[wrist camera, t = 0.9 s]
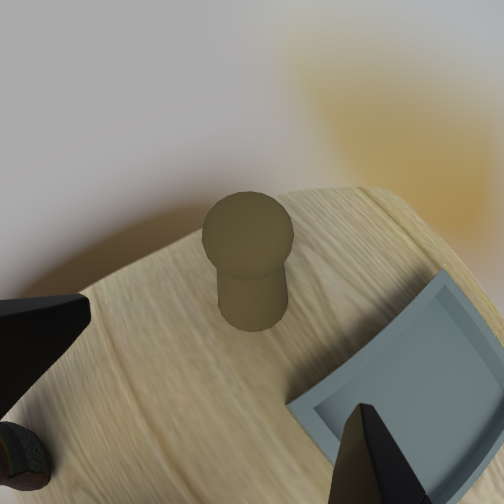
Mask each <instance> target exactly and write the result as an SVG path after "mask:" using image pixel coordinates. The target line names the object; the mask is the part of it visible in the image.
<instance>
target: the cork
mask: <svg viewBox="0 0 504 504" xmlns="http://www.w3.org/2000/svg"><path fill="white" fill-rule="evenodd" d="M293 238H294V232H293V227H292V222H291V218H290V216H289V215H288V213H287V211H286V210H285V208H284V207H283V206H282V205H281V204H280V203H278V202H277V201H276V200H275V199H273V198H272V197H270V196H267V195H265V194H263V193H257V192H238V193H235V194H232V195H229V196H227V197H225V198H224V199H222V200H220V201H218V202H217V203H216V204H215V206H214V207H213V208H212V209H211V210H210V212H209V213H208V214H207V217H206V219H205V221H204V224H203V230H202V243H203V246H204V249H205V251H206V254H207V257H208V259H209V260H210V261H211V262H212V264H213V265H214V266H215V267H216V268H217V284H218V306H219V309H220V311H221V314H222V316H223V317H224V318H225V319H226V321H227V322H228V323H229V324H231V325H232V326H234V327H236V328H237V329H239V330H244V331H248V332H255V331H263V330H265V329H268V328H270V327H272V326H273V325H275V324H276V323H277V322H278V321H279V320H281V318H282V316H283V315H284V313H285V311H286V309H287V304H288V294H287V286H286V278H285V270H284V262H285V260H286V259H287V257H288V256H289V254H290V252H291V248H292V243H293Z"/></svg>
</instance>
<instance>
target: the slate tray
mask: <svg viewBox="0 0 504 504" xmlns="http://www.w3.org/2000/svg"><path fill="white" fill-rule="evenodd" d="M359 403H366V404H371V405H373V406H374V407H375V409H376V411H377V412H378V414H379V415H380V417H381V419H382V420H383V422H384V423H385V425H386V427H387V428H388V430H389V432H390V433H391V435H392V436H393V438H394V440H395V441H396V443H397V445H398V446H399V448H400V450H401V451H402V453H403V454H404V456H405V458H406V459H407V461H408V463H409V464H410V466H411V468H412V469H413V471H414V473H415V474H416V476H417V478H418V479H419V481H420V483H421V484H422V486H423V488H424V490H425V491H426V494H427V495H428V496H429V498H430V500H431V501H432V503H433V504H456V503H457V502H458V501H459V500H460V499H461V498H462V497H463V496H464V495H465V493H466V492H467V491H468V490H469V489H470V488H471V486H472V485H473V484H474V483H475V482H476V480H477V479H478V478H479V477H480V475H481V474H482V473H483V471H484V470H485V469H486V467H487V466H488V465H489V463H490V462H491V460H492V459H493V458H494V456H495V455H496V453H497V452H498V450H499V449H500V447H501V446H502V444H503V443H504V349H503V347H502V346H501V344H500V343H499V341H498V340H497V338H496V337H495V335H494V334H493V332H492V331H491V329H490V328H489V326H488V325H487V323H486V322H485V321H484V319H483V318H482V317H481V315H480V314H479V312H478V311H477V310H476V308H475V307H474V306H473V304H472V303H471V302H470V301H469V299H468V298H467V297H466V295H465V294H464V293H463V292H462V290H461V289H460V288H459V287H458V285H457V284H456V283H455V282H454V281H453V279H452V278H451V277H450V276H449V275H448V274H447V272H446V271H445V270H444V269H443V268H442V269H441V270H440V271H439V272H438V273H437V274H436V275H435V276H434V277H433V278H432V279H431V280H430V281H429V282H428V283H427V284H426V285H425V287H424V288H423V289H422V290H421V291H420V292H419V293H418V294H417V295H416V296H415V297H414V298H413V299H412V300H411V301H410V302H409V303H408V304H407V305H406V306H405V307H404V308H403V309H402V310H401V311H400V312H399V313H398V314H397V315H396V316H395V317H394V318H393V319H392V320H391V321H390V322H389V323H388V324H387V325H386V326H385V327H384V328H383V329H382V330H380V331H379V332H378V333H377V334H376V335H375V336H374V337H373V338H372V339H371V340H369V341H368V342H367V343H366V344H365V345H364V346H363V347H361V348H360V349H359V350H358V351H357V352H355V353H354V354H353V355H352V356H351V357H349V358H348V359H347V360H346V361H345V362H343V363H342V364H341V365H340V366H338V367H337V368H336V369H335V370H333V371H332V372H331V373H329V374H328V375H327V376H325V377H324V378H323V379H322V380H320V381H319V382H317V383H316V384H315V385H313V386H312V387H311V388H309V389H308V390H306V391H305V392H304V393H302V394H301V395H299V396H298V397H296V398H295V399H294V400H292V401H291V402H289V403H288V404H286V405H285V406H286V408H287V409H288V410H289V412H290V413H291V414H292V416H293V417H294V418H295V420H296V421H297V422H298V424H299V425H300V426H301V427H302V429H303V430H304V431H305V433H306V434H307V435H308V436H309V438H310V439H311V440H312V442H313V443H314V444H315V445H316V447H317V448H318V449H319V450H320V451H321V453H322V454H323V455H324V456H325V458H326V459H327V460H328V461H329V462H330V464H331V465H332V466H333V467H334V466H335V462H336V458H337V455H338V451H339V446H340V442H341V438H342V434H343V429H344V425H345V423H346V420H347V419H348V417H349V416H350V414H351V413H352V412H353V410H354V409H355V407H356V406H357V404H359Z"/></svg>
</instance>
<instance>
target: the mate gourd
mask: <svg viewBox="0 0 504 504" xmlns="http://www.w3.org/2000/svg"><path fill="white" fill-rule="evenodd" d="M50 479H51V461H50V458H49V455H48V452H47V450H46V448H45V446H44V445H43V443H42V442H41V441H40V439H39V438H38V437H37V436H36V435H35V434H34V433H33V432H32V431H30V430H29V429H26V428H24V427H22V426H20V425H18V424H16V423H12V422H7V421H5V422H0V485H5V486H8V487H11V488H13V489H16V490H20V491H34V490H39V489H41V488H43V487H44V486H46V485H48V483H49V482H50Z"/></svg>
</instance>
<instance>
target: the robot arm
mask: <svg viewBox="0 0 504 504" xmlns="http://www.w3.org/2000/svg"><path fill="white" fill-rule="evenodd" d="M90 321H91V312H90V302H89V299H88V298H87V297H85V296H84V295H82V294H79V293H78V294H67V295H57V296H46V297H33V298H21V299H9V300H0V420H1V419H2V418H3V417H4V416H5V415H6V413H7V412H8V411H9V410H10V409H11V408H12V407H13V406H14V405H15V404H16V402H17V401H18V400H19V399H20V398H21V397H22V396H23V395H24V394H25V393H26V392H27V391H28V390H29V389H30V387H31V386H32V385H33V384H34V383H35V382H36V381H37V380H38V379H39V378H40V377H41V376H42V375H43V374H44V373H45V372H46V371H47V370H48V369H49V368H50V367H51V366H52V365H53V364H54V363H55V362H56V361H57V360H58V359H59V358H60V357H61V356H62V355H63V354H64V353H65V352H66V351H67V350H68V348H69V347H70V346H71V345H72V344H73V342H74V341H75V340H76V339H77V338H78V336H79V335H80V334H81V333H82V332H83V331H84V329H85V328H86V327H87V326H88V325H89V323H90ZM328 504H433V503H432V501H431V500H430V498H429V496H428V495H427V494H426V491H425V490H424V488H423V486H422V484H421V483H420V481H419V479H418V478H417V476H416V474H415V473H414V471H413V469H412V468H411V466H410V464H409V463H408V461H407V459H406V458H405V456H404V454H403V453H402V451H401V450H400V448H399V446H398V445H397V443H396V441H395V440H394V438H393V436H392V435H391V433H390V432H389V430H388V428H387V427H386V425H385V423H384V422H383V420H382V419H381V417H380V415H379V414H378V412H377V411H376V409H375V407H374V406H373V405H371V404H366V403H359V404H357V406H356V407H355V409H354V410H353V412H352V413H351V414H350V416H349V417H348V419H347V420H346V423H345V425H344V429H343V434H342V438H341V442H340V446H339V451H338V455H337V458H336V462H335V466H334V471H333V476H332V483H331V489H330V495H329V501H328Z"/></svg>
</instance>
